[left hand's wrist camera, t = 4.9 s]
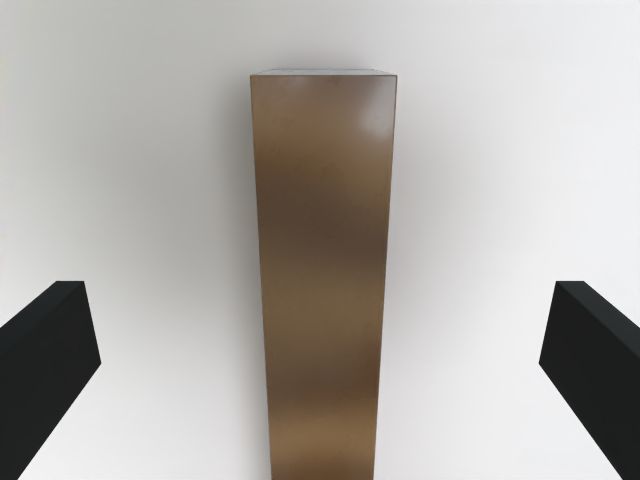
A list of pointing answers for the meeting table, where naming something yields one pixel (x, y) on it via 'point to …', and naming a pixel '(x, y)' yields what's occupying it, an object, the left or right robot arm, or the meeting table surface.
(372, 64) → the meeting table surface
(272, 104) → the beam
